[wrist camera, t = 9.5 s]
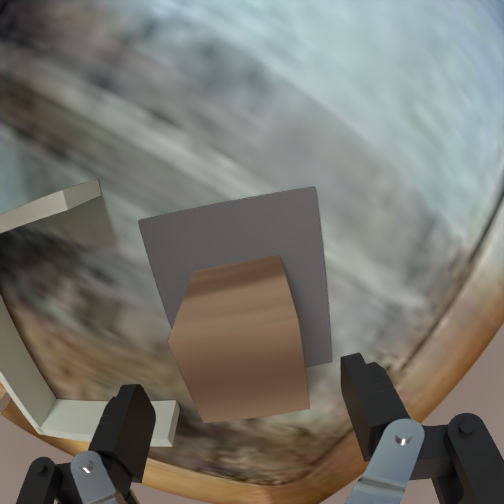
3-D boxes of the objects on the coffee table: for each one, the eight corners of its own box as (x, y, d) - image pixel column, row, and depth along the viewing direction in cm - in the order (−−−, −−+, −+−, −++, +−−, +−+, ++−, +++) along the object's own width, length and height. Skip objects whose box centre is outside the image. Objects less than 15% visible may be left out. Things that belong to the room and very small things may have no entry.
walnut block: (193, 270, 18) (167, 341, 11) (279, 254, 18) (298, 320, 11) (214, 340, 20) (203, 423, 13) (291, 327, 19) (310, 408, 13)
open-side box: (-30, 228, 17) (-63, 244, 13) (97, 178, 16) (62, 190, 13) (54, 405, 23) (38, 433, 19) (180, 408, 22) (172, 446, 19)
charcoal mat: (139, 220, 17) (138, 221, 17) (313, 186, 17) (315, 187, 17) (192, 380, 21) (192, 382, 21) (331, 358, 21) (331, 361, 21)
